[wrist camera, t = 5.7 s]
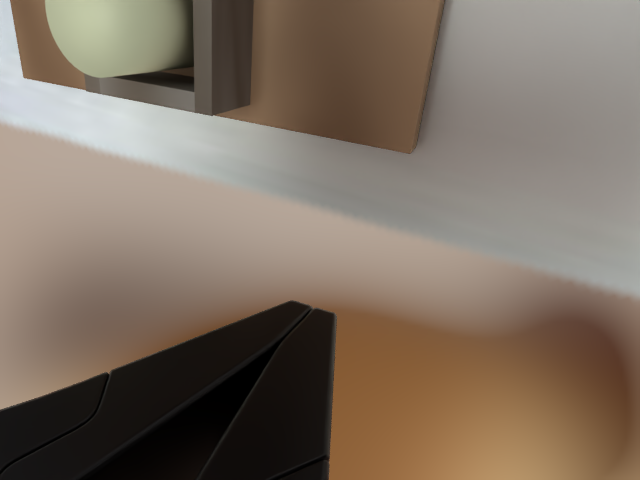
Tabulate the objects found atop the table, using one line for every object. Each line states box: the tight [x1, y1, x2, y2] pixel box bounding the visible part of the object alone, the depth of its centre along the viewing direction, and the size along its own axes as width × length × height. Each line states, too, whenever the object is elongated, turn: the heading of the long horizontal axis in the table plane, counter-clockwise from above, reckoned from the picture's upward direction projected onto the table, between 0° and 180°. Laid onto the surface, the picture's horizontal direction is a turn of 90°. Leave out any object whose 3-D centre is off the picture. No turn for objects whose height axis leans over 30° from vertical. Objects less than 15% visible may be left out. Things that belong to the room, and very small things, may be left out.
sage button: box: [45, 0, 194, 78], centre depth 16 cm, size 3×3×4 cm
